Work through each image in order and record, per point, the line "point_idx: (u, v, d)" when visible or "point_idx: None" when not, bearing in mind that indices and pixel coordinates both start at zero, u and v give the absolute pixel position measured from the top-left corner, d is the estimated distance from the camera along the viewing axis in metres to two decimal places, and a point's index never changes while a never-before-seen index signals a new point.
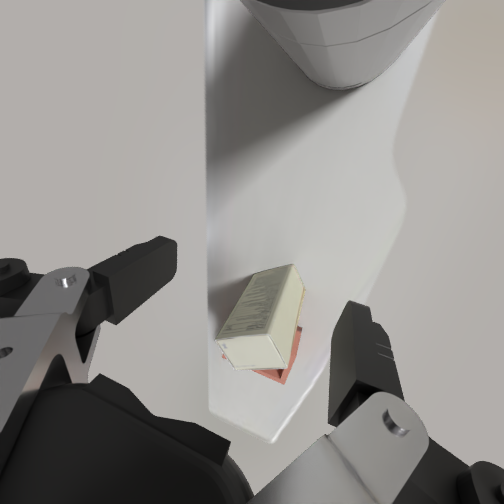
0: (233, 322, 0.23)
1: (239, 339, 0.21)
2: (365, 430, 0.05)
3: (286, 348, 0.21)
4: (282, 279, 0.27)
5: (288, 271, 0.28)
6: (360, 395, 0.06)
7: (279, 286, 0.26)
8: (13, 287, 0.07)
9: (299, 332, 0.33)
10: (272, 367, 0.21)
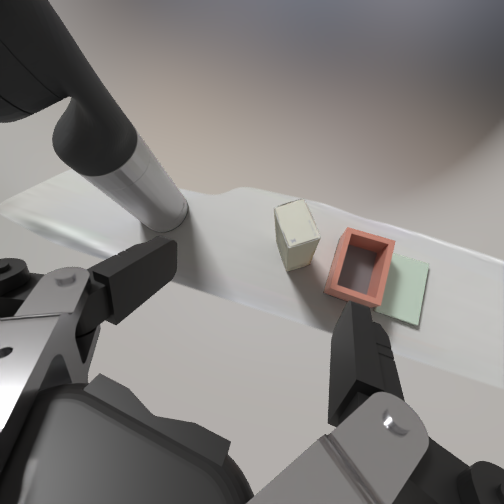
0: (284, 245, 0.30)
1: (283, 227, 0.29)
2: (365, 430, 0.05)
3: None
4: (276, 237, 0.38)
5: (276, 239, 0.40)
6: (360, 395, 0.06)
7: (276, 234, 0.36)
8: (13, 287, 0.07)
9: (340, 238, 0.39)
10: (307, 208, 0.29)
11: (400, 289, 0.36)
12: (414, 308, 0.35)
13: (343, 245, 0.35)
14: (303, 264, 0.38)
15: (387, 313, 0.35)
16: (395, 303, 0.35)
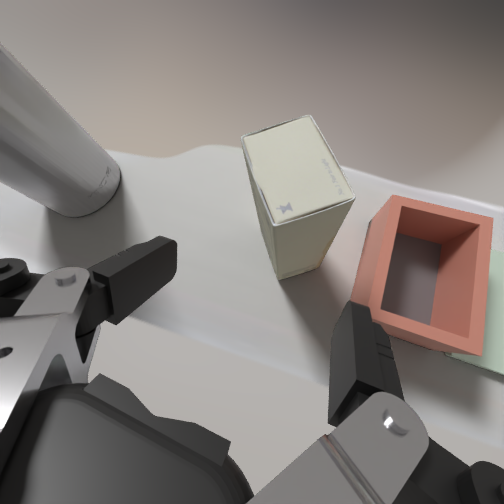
0: (267, 224, 0.13)
1: (262, 179, 0.12)
2: (365, 430, 0.05)
3: None
4: (258, 218, 0.21)
5: (259, 223, 0.22)
6: (360, 395, 0.06)
7: (257, 211, 0.19)
8: (13, 287, 0.07)
9: (372, 219, 0.22)
10: (319, 134, 0.12)
11: (495, 313, 0.19)
12: None
13: (387, 229, 0.18)
14: (308, 267, 0.20)
15: (475, 361, 0.18)
16: (489, 341, 0.18)
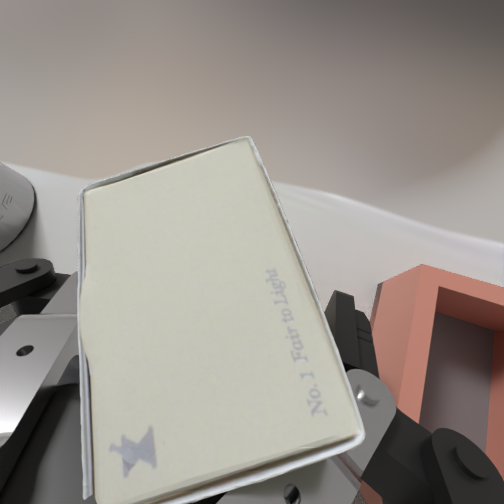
0: None
1: (97, 325, 0.04)
2: None
3: None
4: None
5: None
6: None
7: None
8: (41, 287, 0.07)
9: (383, 284, 0.14)
10: (266, 190, 0.05)
11: None
12: None
13: (415, 331, 0.10)
14: None
15: None
16: None
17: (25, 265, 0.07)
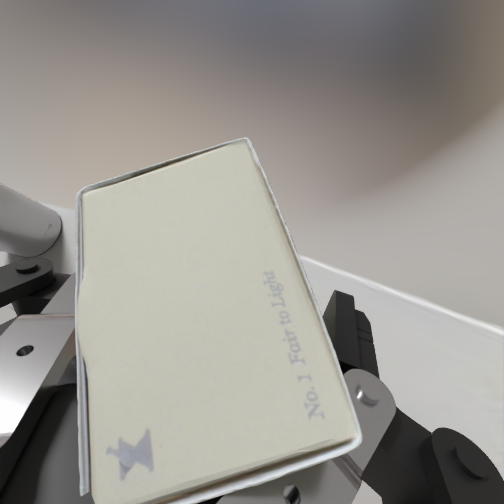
0: None
1: (94, 327, 0.04)
2: None
3: None
4: None
5: None
6: None
7: None
8: (41, 287, 0.07)
9: None
10: (265, 192, 0.05)
11: None
12: None
13: None
14: None
15: None
16: None
17: (25, 265, 0.07)
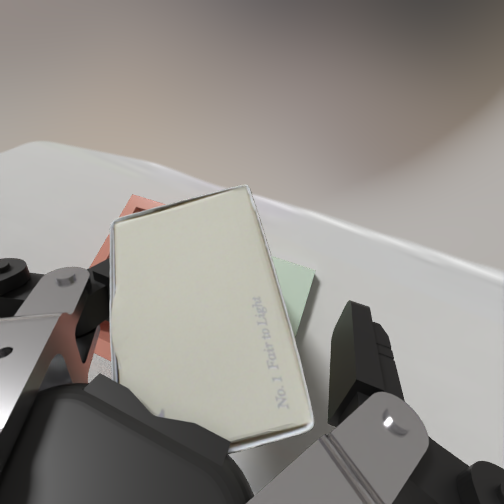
0: None
1: (124, 332, 0.06)
2: (365, 430, 0.05)
3: None
4: None
5: None
6: (360, 395, 0.06)
7: None
8: (13, 287, 0.07)
9: None
10: (258, 232, 0.06)
11: None
12: None
13: None
14: None
15: None
16: None
17: None
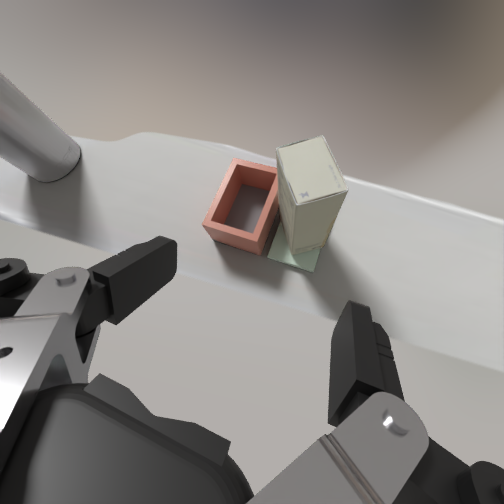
0: (290, 206, 0.20)
1: (290, 176, 0.19)
2: (365, 430, 0.05)
3: None
4: (279, 206, 0.28)
5: (279, 211, 0.29)
6: (360, 395, 0.06)
7: (279, 200, 0.26)
8: (13, 287, 0.07)
9: None
10: (327, 149, 0.19)
11: None
12: (312, 252, 0.29)
13: (225, 177, 0.29)
14: (315, 244, 0.27)
15: (280, 259, 0.29)
16: None
17: None
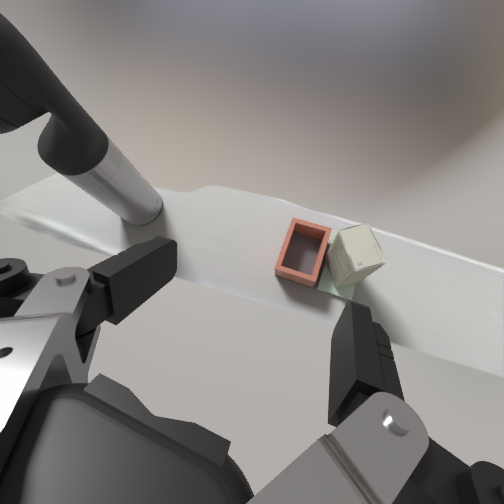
0: (346, 266, 0.32)
1: (349, 251, 0.30)
2: (365, 430, 0.05)
3: None
4: (328, 255, 0.39)
5: (326, 256, 0.41)
6: (360, 395, 0.06)
7: (330, 252, 0.38)
8: (13, 287, 0.07)
9: None
10: (371, 232, 0.31)
11: None
12: (349, 286, 0.41)
13: (288, 232, 0.41)
14: (354, 282, 0.39)
15: (327, 290, 0.41)
16: None
17: None
